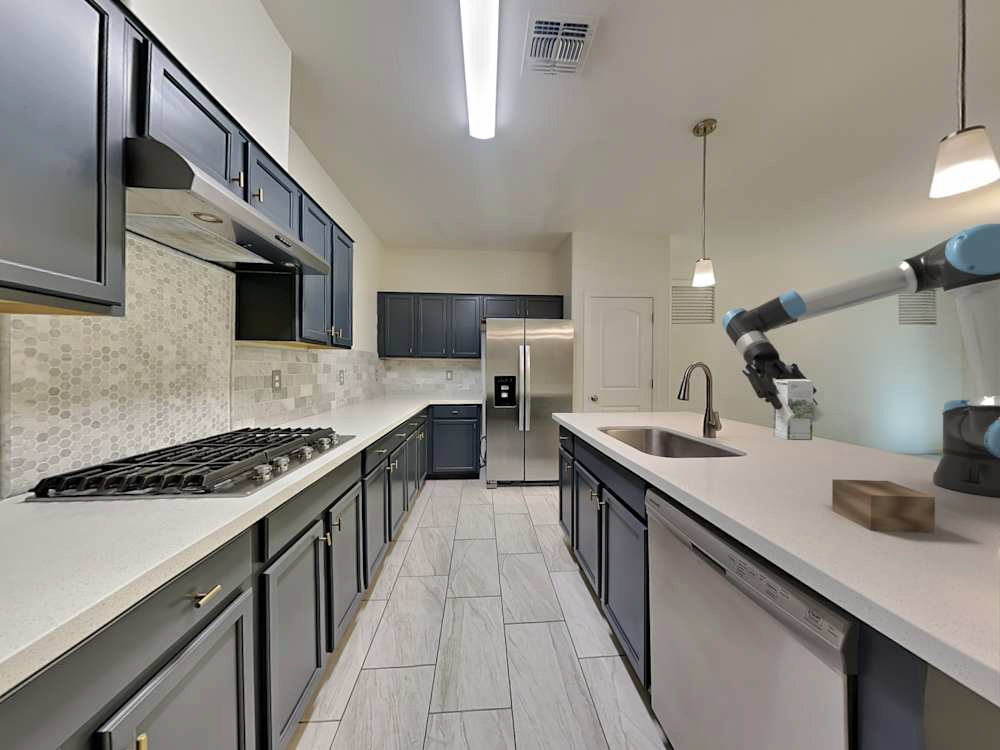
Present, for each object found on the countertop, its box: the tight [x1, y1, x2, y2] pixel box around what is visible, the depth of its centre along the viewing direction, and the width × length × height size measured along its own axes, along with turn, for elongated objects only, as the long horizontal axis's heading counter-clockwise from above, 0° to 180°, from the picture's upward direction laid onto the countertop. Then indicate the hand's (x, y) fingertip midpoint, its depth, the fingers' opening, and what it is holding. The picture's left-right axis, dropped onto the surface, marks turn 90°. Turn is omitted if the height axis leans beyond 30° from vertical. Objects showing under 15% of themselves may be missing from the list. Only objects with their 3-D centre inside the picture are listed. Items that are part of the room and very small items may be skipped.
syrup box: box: [773, 378, 814, 441], centre depth 97 cm, size 6×6×14 cm
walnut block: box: [831, 479, 936, 534], centre depth 83 cm, size 11×11×7 cm
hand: (804, 418), depth 93 cm, fingers closed on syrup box, 6 cm apart
